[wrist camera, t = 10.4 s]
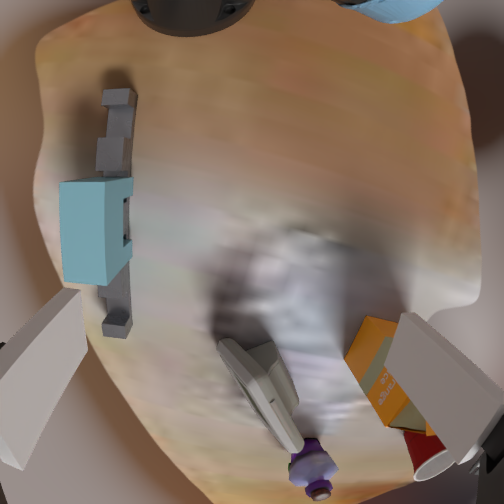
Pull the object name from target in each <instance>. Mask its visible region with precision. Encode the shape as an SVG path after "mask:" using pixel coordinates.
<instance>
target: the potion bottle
mask: <svg viewBox="0 0 504 504" xmlns="http://www.w3.org/2000/svg"><path fill="white" fill-rule="evenodd" d="M303 440H304V446H303V449H302V450H301V451H300V452H299V453H291V463H289V465H288V471H289V480H290V481H291V482H292V483H293V484H294V485H295V486H307V487H306V488H305V492H306V494H307V495H308V496H309V497H311V498H312V499H313V501H321V500H325V499H327V498H329V497H330V496H331V492H330V491H331V490H332V489H333V487H332V485H331V482H330V481H329V479H330V478H331V477H332V476H333V475H334V474H335V473H336V472H337V471H338V470H339V469H338V467H337V466H336V464H335V463H334V461H333V460H332V458H331V457H330V456H329V454H328V453H327V452H326V451H324V450H323V448H322V447H321V445H320V442H319V441H318V439H317V438H305V439H303Z"/></svg>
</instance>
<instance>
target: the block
mask: <svg viewBox="0 0 504 504" xmlns="http://www.w3.org/2000/svg"><path fill="white" fill-rule="evenodd" d="M132 195H133V177H92V178H85V179H78V180H71V181H65V182H60V184H59V211H60V238H61V253H62V264H63V274H64V282H72V283H81V284H92V285H102V286H107V285H108V284H109V283H110V282H111V281H112V279H113V278H114V277H115V276H116V275H117V274H118V272H119V271H120V270H121V269H122V268H123V267H124V266H125V264H126V263H127V262H128V261H129V260H130V259H131V258H132V240H129V239H123V199H124V198H127V197H130V196H132Z"/></svg>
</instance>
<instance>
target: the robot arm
mask: <svg viewBox="0 0 504 504" xmlns="http://www.w3.org/2000/svg"><path fill="white" fill-rule="evenodd" d="M254 1H255V0H131V2H132V5H133V7H134V9H135V11H136V13H137V15H138V16H139V18H140V19H141V20H142V22H143V23H144V24H146V25H147V26H148V27H150V28H151V29H153V30H155V31H157V32H160V33H163V34H166V35H170V36H177V37H195V36H202V35H207V34H211V33H215V32H218V31H220V30H223V29H225V28H227V27H229V26H231V25H233V24H234V23H236V22H237V21H239V20H240V19H241V18H242V17H243V16H245V15H246V13H247V12H248V11H249V10H250V9H251V7H252V5H253V4H254ZM332 1H334V2H336V3H337V4H338V5H339V6H341V7H343V8H347V9H353V10H355V11H357V12H360V13H362V14H364V15H366V16H368V17H370V18H372V19H374V20H377V21H379V22H383V23H389V24H392V23H400V22H407V21H410V20H413V19H416V18H418V17H420V16H422V15H424V14H426V13H427V12H429V11H430V10H432V9H433V8H435V7H436V6H437V5H439V4H440V3H441V2H442V1H444V0H332ZM87 351H88V348H87V342H86V334H85V327H84V319H83V310H82V300H81V290H78V289H71V288H65V287H64V288H63V289H62V290H61V291H60V292H58V293H57V294H56V295H55V296H54V297H53V298H52V299H51V300H50V301H49V302H48V303H47V304H46V305H45V306H44V307H42V308H41V309H40V310H39V311H38V312H37V313H36V314H35V315H34V316H33V317H32V318H31V319H30V320H29V321H28V322H27V323H26V324H25V325H24V326H23V327H22V328H21V329H20V330H19V331H18V332H17V333H16V334H15V335H14V336H13V337H12V338H11V339H10V340H9V341H8V342H7V343H4V342H2V343H0V458H1V460H2V461H3V462H4V463H7V464H9V465H11V466H13V467H15V468H18V469H20V470H22V471H24V468H25V466H26V464H27V462H28V460H29V458H30V456H31V454H32V451H33V449H34V447H35V445H36V443H37V441H38V439H39V437H40V435H41V433H42V431H43V429H44V427H45V425H46V423H47V421H48V420H49V418H50V416H51V414H52V412H53V410H54V408H55V406H56V404H57V403H58V401H59V399H60V397H61V395H62V394H63V392H64V390H65V388H66V386H67V385H68V383H69V381H70V379H71V378H72V376H73V374H74V373H75V371H76V369H77V367H78V366H79V364H80V362H81V361H82V359H83V357H84V356H85V354H86V352H87ZM384 366H385V367H386V368H387V370H388V371H389V372H390V374H391V375H392V376H393V378H394V379H395V380H396V381H397V383H398V384H399V385H400V387H401V388H402V389H403V391H404V392H405V393H406V395H407V396H408V397H409V399H410V400H411V401H412V402H413V404H414V405H415V406H416V408H417V409H418V410H419V412H420V413H421V415H422V416H423V417H424V419H425V420H426V421H427V423H428V424H429V425H430V427H431V428H432V429H433V431H434V432H435V433H436V435H437V436H438V438H439V439H440V440H441V442H442V443H443V444H444V446H445V447H446V449H447V450H448V451H449V453H450V454H451V456H452V457H453V458H454V460H455V461H456V462H457V464H458V465H459V464H461V463H463V462H466V461H468V460H470V459H472V458H473V457H474V455H475V454H476V453H477V451H478V450H479V449H480V447H482V448H483V449H484V450H485V451H484V452H483V454H482V455H481V456H480V457H479V459H478V460H477V461H476V462H475V464H474V465H473V466H472V467H471V469H470V471H469V473H472V472H473V471H474V469H475V468H476V467H479V468H478V470H477V471H476V472H475V474H476V475H479V480H478V491H477V500H476V504H504V391H503V390H502V389H501V388H500V387H499V386H498V385H497V384H496V383H495V382H494V381H493V380H492V379H490V378H489V377H488V376H487V375H486V374H485V373H484V372H483V371H482V370H481V369H480V368H478V367H477V366H476V365H475V364H474V363H473V362H472V361H471V360H469V359H468V358H467V357H466V356H465V355H464V354H463V353H462V352H461V351H459V350H458V349H457V348H456V347H455V346H454V345H452V344H451V343H450V342H449V341H448V340H447V339H445V338H444V337H443V336H442V335H441V334H440V333H439V332H437V331H436V330H435V329H434V328H432V326H430V325H429V324H428V323H427V322H426V321H424V320H423V319H422V318H421V317H420V316H418V315H417V314H416V313H402V314H401V317H400V320H399V323H398V326H397V329H396V332H395V335H394V338H393V341H392V344H391V347H390V349H389V352H388V355H387V358H386V360H385V363H384ZM0 504H7V501H6V498H5V495H4V492H3V489H2V486H1V483H0Z"/></svg>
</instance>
